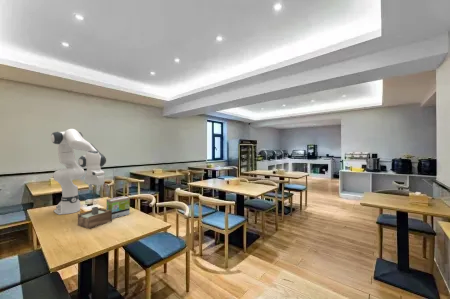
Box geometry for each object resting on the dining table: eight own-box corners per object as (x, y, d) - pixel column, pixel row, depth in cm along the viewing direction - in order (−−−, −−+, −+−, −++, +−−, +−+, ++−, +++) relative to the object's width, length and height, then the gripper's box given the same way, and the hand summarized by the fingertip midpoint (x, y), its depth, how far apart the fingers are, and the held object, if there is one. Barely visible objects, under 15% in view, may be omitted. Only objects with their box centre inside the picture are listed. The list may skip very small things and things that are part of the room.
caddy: (77, 225, 148) (77, 214, 148) (100, 217, 163) (99, 208, 163) (89, 229, 141) (89, 217, 141) (111, 221, 156) (111, 210, 156)
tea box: (111, 219, 160) (111, 201, 160) (106, 216, 166) (105, 199, 166) (130, 214, 172) (129, 197, 172) (124, 211, 178) (124, 195, 178)
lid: (80, 216, 149) (80, 208, 149) (99, 211, 161) (98, 204, 161) (90, 219, 143) (90, 211, 143) (108, 213, 155) (108, 206, 155)
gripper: (82, 172, 154) (82, 189, 154) (97, 173, 144) (97, 192, 144) (90, 171, 159) (91, 188, 160) (105, 172, 150) (106, 190, 150)
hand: (94, 190), depth 152 cm, fingers open, 8 cm apart
